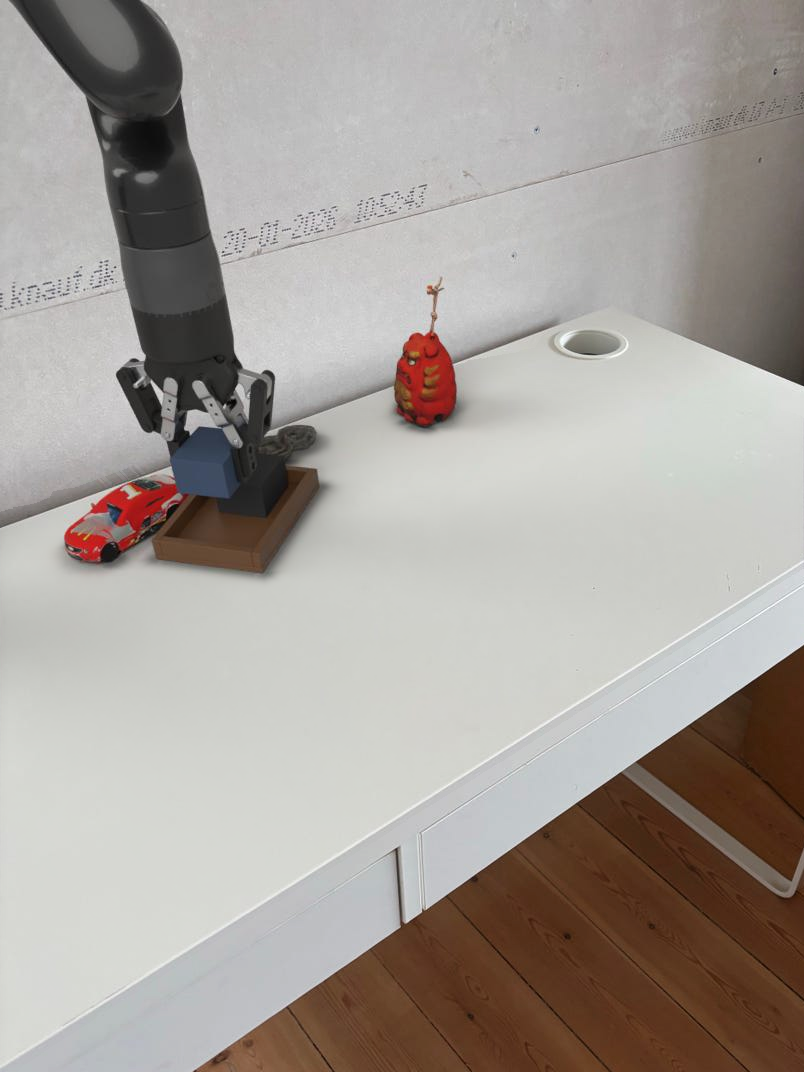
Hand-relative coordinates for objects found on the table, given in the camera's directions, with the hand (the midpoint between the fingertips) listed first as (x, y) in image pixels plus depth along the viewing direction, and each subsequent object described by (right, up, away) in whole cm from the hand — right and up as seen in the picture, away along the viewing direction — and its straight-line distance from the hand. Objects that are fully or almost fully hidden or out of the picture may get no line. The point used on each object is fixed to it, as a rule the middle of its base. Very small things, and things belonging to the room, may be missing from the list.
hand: (216, 474), depth 92 cm
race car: (-10, -5, +6) cm, 12 cm away
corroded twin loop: (+3, +5, +17) cm, 18 cm away
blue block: (0, 0, 0) cm, 0 cm away
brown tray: (+1, -4, +7) cm, 8 cm away
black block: (+2, -1, +9) cm, 9 cm away
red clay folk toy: (+18, +11, +23) cm, 31 cm away
